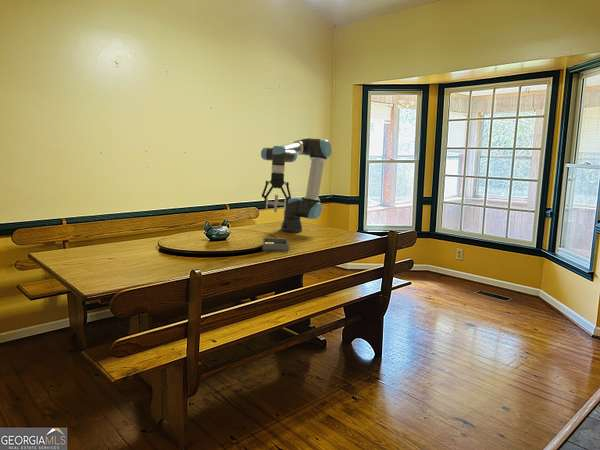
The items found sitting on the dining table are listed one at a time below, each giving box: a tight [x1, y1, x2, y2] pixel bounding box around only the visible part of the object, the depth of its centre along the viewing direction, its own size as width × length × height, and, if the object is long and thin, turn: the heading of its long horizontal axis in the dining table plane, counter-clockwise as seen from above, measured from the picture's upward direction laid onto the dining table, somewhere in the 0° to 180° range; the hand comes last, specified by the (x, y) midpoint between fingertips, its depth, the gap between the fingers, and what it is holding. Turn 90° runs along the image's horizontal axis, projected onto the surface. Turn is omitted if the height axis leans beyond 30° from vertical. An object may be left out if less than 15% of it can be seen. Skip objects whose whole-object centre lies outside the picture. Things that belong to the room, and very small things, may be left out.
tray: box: [262, 237, 290, 253], centre depth 263 cm, size 15×15×4 cm
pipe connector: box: [267, 194, 284, 213], centre depth 266 cm, size 10×10×10 cm
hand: (275, 209), depth 266 cm, fingers closed on pipe connector, 10 cm apart
